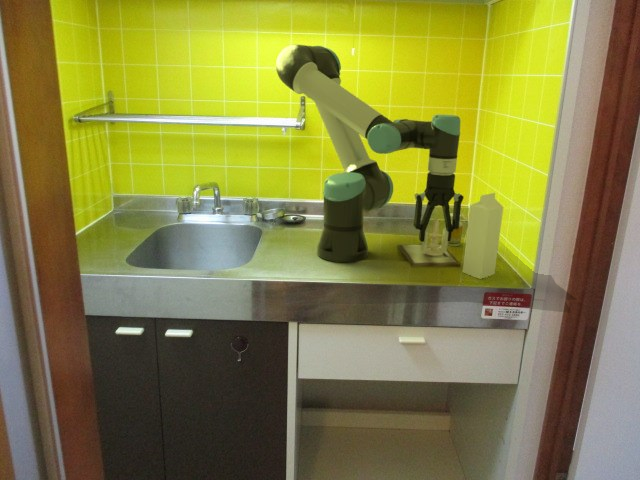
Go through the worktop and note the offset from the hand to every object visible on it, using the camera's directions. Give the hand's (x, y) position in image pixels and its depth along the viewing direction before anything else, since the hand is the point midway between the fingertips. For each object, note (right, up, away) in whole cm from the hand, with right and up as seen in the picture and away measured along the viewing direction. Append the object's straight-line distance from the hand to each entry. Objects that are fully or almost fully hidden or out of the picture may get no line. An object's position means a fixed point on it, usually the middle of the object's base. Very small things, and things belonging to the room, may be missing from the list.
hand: (433, 251), depth 144 cm
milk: (+10, -6, -10) cm, 15 cm away
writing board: (-1, -1, +2) cm, 3 cm away
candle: (0, -1, 0) cm, 0 cm away
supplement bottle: (+9, +2, +14) cm, 16 cm away
